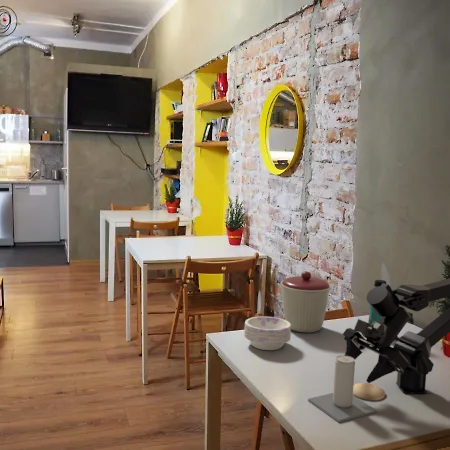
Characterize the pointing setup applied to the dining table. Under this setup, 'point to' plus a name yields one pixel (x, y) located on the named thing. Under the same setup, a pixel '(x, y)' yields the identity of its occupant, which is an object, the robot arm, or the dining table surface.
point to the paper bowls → (267, 332)
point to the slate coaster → (340, 413)
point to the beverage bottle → (372, 314)
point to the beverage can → (343, 381)
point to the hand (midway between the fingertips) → (354, 374)
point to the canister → (305, 302)
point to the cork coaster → (368, 391)
